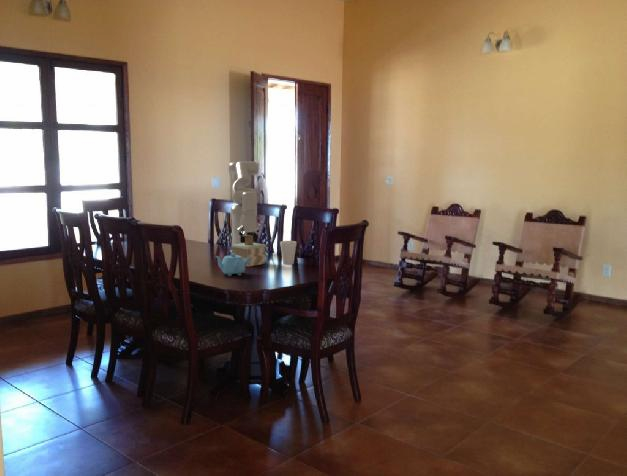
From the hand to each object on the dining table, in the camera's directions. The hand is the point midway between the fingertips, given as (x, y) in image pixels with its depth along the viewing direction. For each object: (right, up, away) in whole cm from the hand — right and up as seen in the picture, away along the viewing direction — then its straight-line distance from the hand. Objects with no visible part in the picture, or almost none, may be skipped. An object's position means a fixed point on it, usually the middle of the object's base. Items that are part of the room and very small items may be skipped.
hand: (248, 241), depth 320 cm
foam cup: (+23, -13, +3) cm, 27 cm away
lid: (0, -4, +1) cm, 4 cm away
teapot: (-4, -18, -31) cm, 36 cm away
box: (0, -13, +2) cm, 13 cm away
